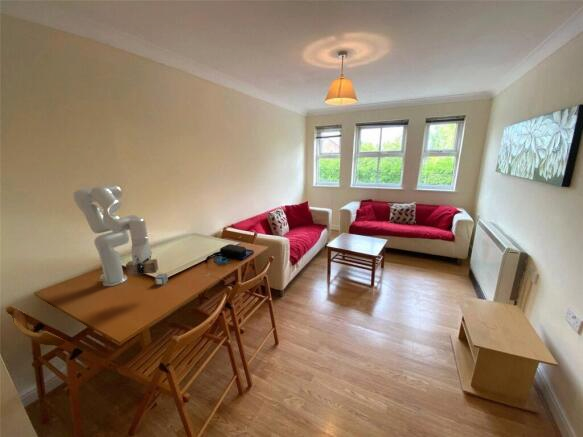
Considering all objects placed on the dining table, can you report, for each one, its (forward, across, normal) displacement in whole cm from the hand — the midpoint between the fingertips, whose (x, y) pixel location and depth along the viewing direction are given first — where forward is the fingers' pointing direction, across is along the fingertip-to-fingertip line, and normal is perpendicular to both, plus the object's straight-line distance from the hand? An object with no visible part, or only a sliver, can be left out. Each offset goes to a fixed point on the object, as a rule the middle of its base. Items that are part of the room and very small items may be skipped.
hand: (144, 270), depth 134 cm
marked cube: (+15, -12, +1) cm, 19 cm away
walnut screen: (+1, 0, -1) cm, 1 cm away
